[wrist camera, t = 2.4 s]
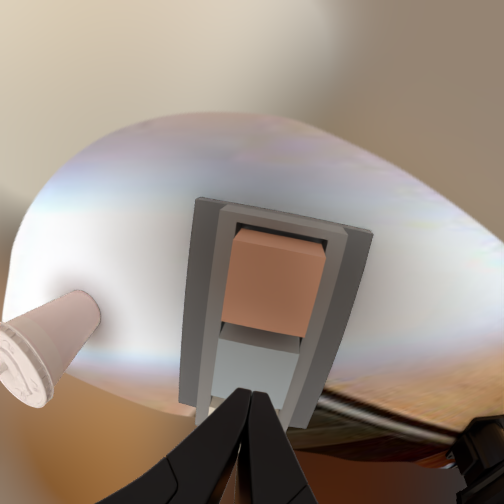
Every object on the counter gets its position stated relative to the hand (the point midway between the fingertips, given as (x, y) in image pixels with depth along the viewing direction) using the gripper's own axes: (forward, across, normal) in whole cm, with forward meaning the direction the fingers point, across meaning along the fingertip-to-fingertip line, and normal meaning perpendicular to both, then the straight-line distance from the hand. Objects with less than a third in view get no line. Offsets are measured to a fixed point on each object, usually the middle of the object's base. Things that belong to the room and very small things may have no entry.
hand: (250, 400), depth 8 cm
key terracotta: (+10, 0, 0) cm, 10 cm away
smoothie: (+13, +15, +8) cm, 22 cm away
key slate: (+10, 0, +5) cm, 12 cm away
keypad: (+13, 0, +6) cm, 14 cm away
